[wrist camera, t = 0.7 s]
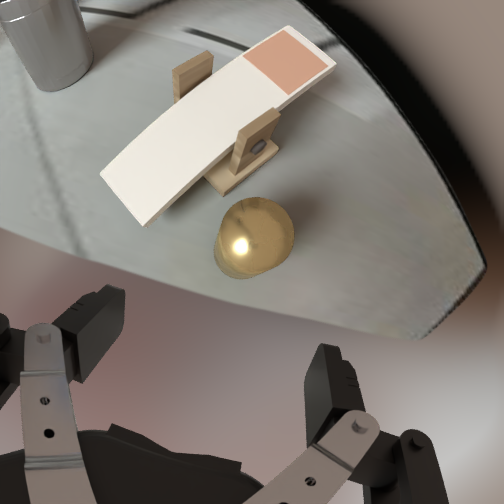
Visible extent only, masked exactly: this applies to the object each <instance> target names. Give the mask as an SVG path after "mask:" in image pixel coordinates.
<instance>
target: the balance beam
mask: <svg viewBox="0 0 504 504" xmlns="http://www.w3.org/2000/svg"><path fill="white" fill-rule="evenodd" d="M336 65H337V63H336V62H334V61H333V60H332V59H331V58H330V57H329V56H327V55H326V54H325V53H324V52H323V51H321V50H320V49H319V48H318V47H317V46H315V45H314V44H313V43H312V42H310V41H309V40H308V39H307V38H305V37H304V36H303V35H301V34H300V33H299V32H297V31H296V30H295V29H293V28H292V27H291V26H289V25H288V26H286V27H284V28H282V29H281V30H279V31H277V32H276V33H274V34H272V35H271V36H269V37H267V38H266V39H264V40H263V41H261V42H259V43H258V44H256V45H255V46H253V47H252V48H250V49H249V50H247V51H246V52H244V53H243V54H241V55H240V56H238V57H237V58H235V59H234V60H232V61H231V62H229V63H228V64H227V65H225V66H224V67H222V68H221V69H220V70H218V71H217V72H215V73H214V74H213V75H211V76H210V77H209V78H207V79H206V80H205V81H203V82H202V83H201V84H199V85H198V86H197V87H195V88H194V89H193V90H192V91H190V92H189V93H188V94H187V95H185V96H184V97H183V98H182V99H180V100H179V101H178V102H177V103H175V104H174V105H173V106H172V107H171V108H169V109H168V110H167V111H166V112H165V113H163V114H162V115H161V116H160V117H159V118H158V119H156V120H155V121H154V122H153V123H152V124H151V125H150V126H149V127H147V128H146V129H145V130H144V131H143V132H142V133H141V134H140V135H139V136H137V137H136V138H135V139H134V140H133V141H132V142H131V143H130V144H129V145H128V146H127V147H126V148H125V149H124V150H123V151H122V152H121V153H120V154H119V155H117V156H116V157H115V158H114V159H113V160H112V161H111V162H110V163H109V164H108V165H107V166H106V167H105V169H104V170H103V171H102V172H101V173H100V175H101V176H102V178H103V179H104V180H105V181H106V183H107V184H108V185H109V186H110V188H111V189H112V190H113V191H114V192H115V194H116V195H117V196H118V197H119V199H120V200H121V201H122V202H123V204H124V205H125V206H126V207H127V208H128V210H129V211H130V212H131V213H132V214H133V216H134V217H135V218H136V219H137V220H138V222H139V223H140V224H141V225H142V226H143V227H147V228H148V227H149V226H150V225H151V224H152V223H153V222H154V221H155V220H156V219H157V218H158V217H159V216H160V215H161V214H162V213H163V212H164V211H165V210H166V209H167V208H168V207H170V206H171V205H172V204H173V203H174V202H175V201H176V200H177V199H178V198H179V197H180V196H181V195H182V194H183V193H184V192H185V191H187V190H188V189H189V188H190V187H191V186H192V185H193V184H194V183H195V182H196V181H198V180H199V179H200V178H201V177H202V176H203V175H204V174H205V173H206V172H208V171H209V170H210V169H211V168H212V167H213V166H214V165H215V164H217V163H218V162H219V161H220V160H221V159H222V158H223V157H225V156H226V155H227V154H228V153H229V152H230V151H232V150H233V149H234V146H235V142H236V138H237V135H238V131H239V130H240V129H242V128H243V127H244V126H246V125H247V124H249V123H250V122H252V121H253V120H255V119H256V118H257V117H259V116H260V115H262V114H263V113H265V112H266V111H268V110H269V109H271V108H272V107H274V108H275V109H276V110H277V111H278V112H279V111H280V110H282V109H283V108H284V107H286V106H287V105H288V104H289V103H291V102H292V101H293V100H295V99H296V98H297V97H299V96H300V95H301V94H303V93H304V92H305V91H307V90H308V89H309V88H311V87H312V86H313V85H315V84H316V83H317V82H319V81H320V80H321V79H323V78H324V77H326V76H327V75H328V74H330V73H331V72H333V71H334V69H335V67H336Z"/></svg>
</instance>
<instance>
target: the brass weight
mask: <svg viewBox="0 0 504 504" xmlns="http://www.w3.org/2000/svg"><path fill="white" fill-rule="evenodd" d="M293 243H294V228H293V224H292V221H291V219H290V217H289V215H288V214H287V213H286V211H285V210H284V209H283V208H282V207H281V206H279V205H278V204H277V203H275V202H273V201H271V200H269V199H265V198H260V197H252V198H247V199H243V200H241V201H239V202H237V203H236V204H234V205H233V206H232V207H231V208H230V209H229V210H228V211H227V213H226V214H225V216H224V218H223V220H222V223H221V226H220V229H219V233H218V236H217V239H216V242H215V246H214V258H215V261H216V263H217V265H218V267H219V268H220V270H221V271H222V272H223V273H225V274H226V275H228V276H229V277H232V278H235V279H249V278H252V277H254V276H256V275H259V274H261V273H263V272H265V271H268V270H270V269H272V268H274V267H276V266H278V265H280V264H281V263H282V262H283V261H284V260H285V259H286V258H287V257H288V255H289V254H290V252H291V250H292V247H293Z"/></svg>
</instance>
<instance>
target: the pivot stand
mask: <svg viewBox="0 0 504 504" xmlns="http://www.w3.org/2000/svg"><path fill="white" fill-rule="evenodd" d="M213 58H214V56H213V55H212V54H211V53H210V52H208V51H205V52H203V53H201V54H199V55H197V56H195V57H194V58H192V59H190V60H188V61H186V62H185V63H183V64H181V65H179V66H178V67H176V68H174V69H173V70H172V74H173V91H174V104H175V103H177V102H178V101H179V100H180V99H182V98H183V97H184V96H185V95H187V94H188V93H189V92H190V91H192V90H193V89H194V88H195V87H197V86H198V85H199V84H201V83H202V82H203V81H205V80H206V79H207V78H209V77H210V76H211V75H212V67H213ZM280 116H281V114H280V113H279V112H278V111H277V110H276V109H275V108H274V107H272V108H271V109H269V110H268V111H266V112H265V113H263V114H262V115H260V116H259V117H257V118H256V119H255V120H253V121H252V122H250V123H249V124H247V125H246V126H244V127H243V128H242V129H240V130H239V131H238V135H237V138H236V142H235V146H234V149H233V150H232V151H230V152H229V153H228V154H227V155H226V156H225V157H223V158H222V159H221V160H220V161H219V162H218V163H217V164H215V165H214V166H213V167H212V168H211V169H210V170H209V171H208V172H206V173H205V174H204V175H203V176H204V177H205V178H206V179H207V180H208V182H209V183H210V184H211V185H212V186H213V187H214V188H215V189H216V190H217V191H218V192H219V193H220V194H221V195H222V196H223V197H224V196H225V195H226V194H227V193H229V192H230V191H231V190H232V189H233V188H235V187H236V186H237V185H238V184H239V183H241V182H242V181H243V180H244V179H246V178H247V177H248V176H249V175H250V174H252V173H253V172H254V171H255V170H257V169H258V168H259V167H260V166H262V165H263V164H264V163H265V162H267V161H268V160H269V159H270V158H272V157H273V156H274V155H275V154H276V153H277V151H278V150H279V147H278V146H277V145H276V144H275V143H274V142H273V141H272V140H271V139H270V137H271V135H272V133H273V131H274V129H275V127H276V125H277V123H278V120H279V118H280Z"/></svg>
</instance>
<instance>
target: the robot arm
mask: <svg viewBox="0 0 504 504" xmlns="http://www.w3.org/2000/svg"><path fill="white" fill-rule="evenodd" d="M0 24H1V25H2V27H3V29H4V31H5V33H6V35H7V37H8V38H9V40H10V42H11V44H12V46H13V47H14V49H15V51H16V53H17V54H18V56H19V58H20V59H21V61H22V63H23V65H24V66H25V68H26V70H27V72H28V73H29V75H30V76H31V78H32V80H33V81H34V83H35V84H36V86H37V88H39V89H40V90H42V91H47V92H52V91H57V90H60V89H63V88H65V87H68V86H70V85H71V84H73V83H74V82H76V81H77V80H78V79H80V78H81V77H82V76H83V75H84V74H85V73H86V72H87V70H88V69H89V67H90V66H91V64H92V61H93V51H92V48H91V45H90V42H89V38H88V35H87V32H86V28H85V25H84V22H83V18H82V15H81V11H80V8H79V5H78V1H77V0H0ZM124 310H125V290H124V289H121V288H118V287H115V286H112V285H109V284H107V285H105V286H104V287H103V288H102V289H101V290H100V291H99V292H97V293H95V292H92V293H89V294H86V295H84V296H82V297H81V298H80V299H79V300H78V301H76V303H74V304H73V305H72V306H70V308H68V309H67V310H66V311H65V312H64V313H63V314H61V315H60V316H59V317H58V318H57V319H56V320H55V321H54V322H53V323H52V324H48V323H39V324H35V325H33V326H31V327H29V328H28V329H27V331H24V330H19V329H14V328H10V325H9V320H8V318H7V317H6V316H5V315H4V314H1V313H0V410H1V408H2V407H3V406H4V404H5V403H6V401H7V400H8V399H9V398H10V396H11V395H12V394H13V393H14V391H15V390H16V389H17V387H18V386H19V385H20V395H21V396H20V397H21V417H22V429H23V430H22V431H23V440H24V449H21V450H18V451H14V452H11V453H7V454H4V455H0V504H327V503H328V502H329V501H330V499H331V498H332V497H333V496H334V495H335V494H336V492H337V491H338V490H339V489H340V487H341V486H342V485H343V484H344V483H345V481H346V480H350V481H353V482H356V483H359V484H362V485H363V497H364V504H449V502H448V497H447V493H446V490H445V486H444V482H443V478H442V475H441V471H440V467H439V464H438V461H437V457H436V454H435V450H434V447H433V444H432V441H431V440H430V438H429V437H428V436H427V435H426V434H424V433H423V432H420V431H418V430H415V429H410V430H406V431H404V432H403V433H402V434H401V436H400V437H398V436H395V435H391V434H389V433H386V432H383V431H381V430H380V427H379V424H378V422H377V421H376V419H375V418H374V417H373V416H371V415H370V414H368V413H366V411H365V407H364V403H363V399H362V395H361V391H360V388H359V383H358V381H357V376H356V372H355V369H354V368H353V367H352V365H351V364H350V363H349V361H346V360H342V356H341V352H340V348H339V347H338V346H333V345H328V344H323V343H321V344H320V345H319V346H318V348H317V351H316V353H315V355H314V357H313V360H312V362H311V364H310V366H309V368H308V371H307V373H306V376H305V381H304V396H305V416H306V440H307V448H308V449H307V450H305V451H304V452H303V453H302V454H301V455H300V456H299V457H298V458H297V459H296V460H295V461H293V462H292V463H291V464H290V465H289V466H288V467H287V468H286V469H285V470H283V471H282V472H281V473H280V474H279V475H278V476H276V477H275V478H274V479H273V480H272V481H270V482H269V483H268V484H267V485H266V486H264V485H262V484H261V483H260V482H259V481H257V480H256V479H254V478H253V477H251V476H249V475H247V474H246V473H243V472H241V471H240V469H241V464H242V463H241V462H237V461H232V460H228V459H224V458H219V457H215V456H211V455H199V454H186V453H175V452H171V451H169V450H167V449H166V448H164V447H162V446H160V445H158V444H156V443H155V442H153V441H152V440H150V439H148V438H147V437H145V436H143V435H141V434H138V433H135V432H133V431H130V430H128V429H125V428H123V427H120V426H118V425H115V424H111V426H110V428H109V430H108V431H103V430H83V431H78V428H77V424H76V420H75V415H74V410H73V405H72V399H71V394H70V389H69V383H70V382H71V381H72V380H75V381H77V382H80V383H83V382H84V381H85V380H86V378H87V377H88V376H89V374H90V373H91V372H92V370H93V369H94V368H95V366H96V365H97V364H98V362H99V361H100V360H101V358H102V357H103V356H104V354H105V353H106V352H107V351H108V349H109V348H110V346H111V345H112V344H113V343H114V342H115V340H116V339H117V338H118V336H119V335H120V333H121V331H122V329H123V324H124Z"/></svg>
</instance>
